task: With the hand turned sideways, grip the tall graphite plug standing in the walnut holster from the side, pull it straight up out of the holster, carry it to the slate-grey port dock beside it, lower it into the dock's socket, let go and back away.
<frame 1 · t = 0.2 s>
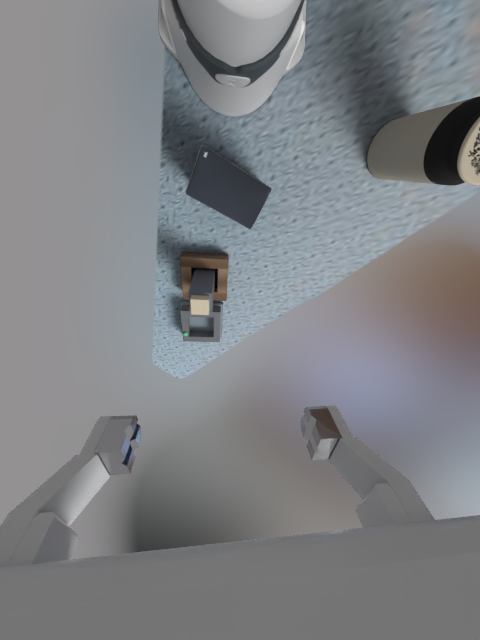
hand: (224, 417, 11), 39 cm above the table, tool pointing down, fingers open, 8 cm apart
dock: (202, 318, 54), on the table
plug: (203, 288, 42), in the holster
small box: (227, 185, 38), on the table
travel mug: (389, 150, 36), on the table
holster: (205, 274, 47), on the table
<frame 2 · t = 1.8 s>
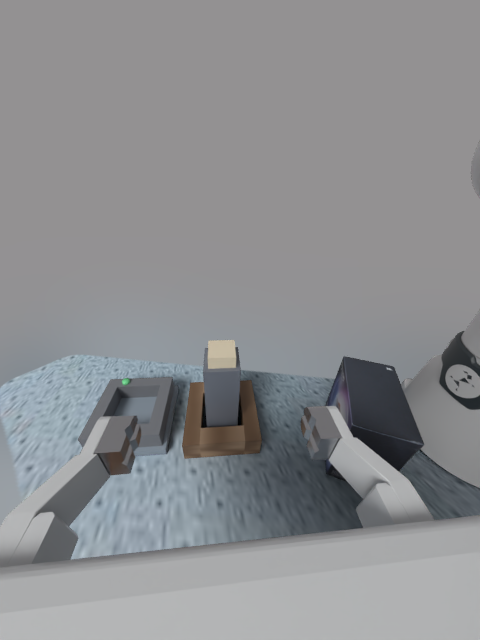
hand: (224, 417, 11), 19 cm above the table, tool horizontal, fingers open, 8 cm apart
dock: (137, 419, 31), on the table
plug: (221, 389, 27), in the holster
small box: (346, 442, 29), on the table
holster: (221, 421, 31), on the table
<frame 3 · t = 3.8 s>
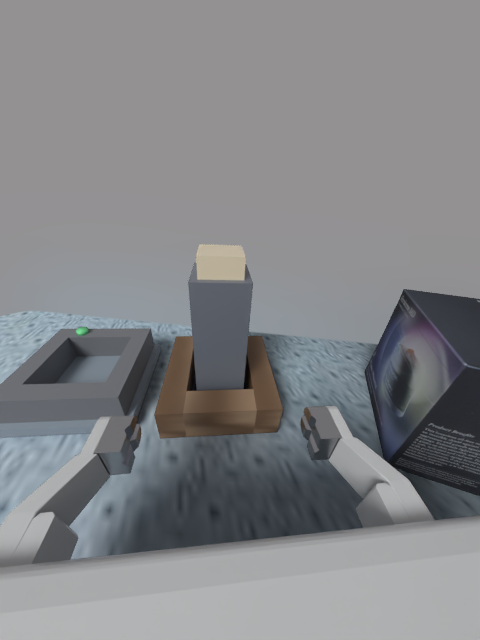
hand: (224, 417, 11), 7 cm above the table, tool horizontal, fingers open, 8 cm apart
dock: (96, 384, 21), on the table
plug: (220, 333, 18), in the holster
small box: (405, 419, 20), on the table
holster: (219, 388, 21), on the table
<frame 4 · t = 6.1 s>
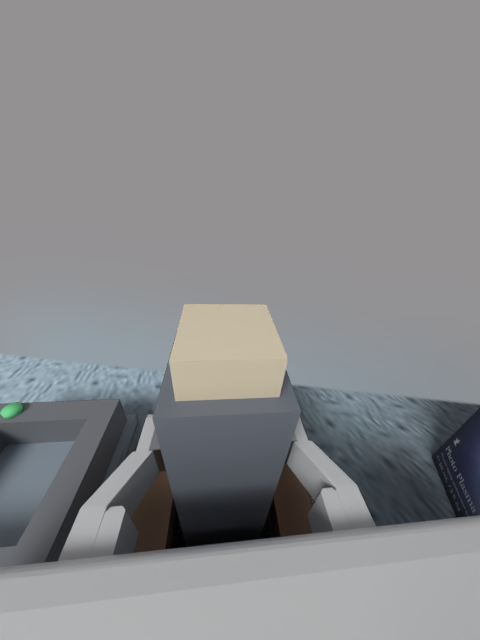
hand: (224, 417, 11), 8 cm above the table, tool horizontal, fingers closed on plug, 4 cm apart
dock: (29, 499, 13), on the table
plug: (224, 445, 10), in the holster, touching gripper
holster: (222, 502, 14), on the table
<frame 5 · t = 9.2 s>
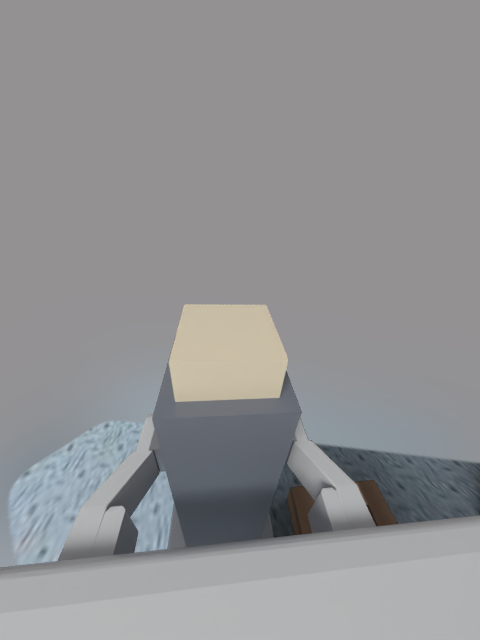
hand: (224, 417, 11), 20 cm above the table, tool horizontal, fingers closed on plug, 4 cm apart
dock: (221, 554, 20), on the table
plug: (224, 445, 10), point 19 cm above the table, touching gripper
holster: (347, 554, 21), on the table
when the fingers open (9 cm above the table, at t = 12.3 s): plug stays where it is, resting on dock.
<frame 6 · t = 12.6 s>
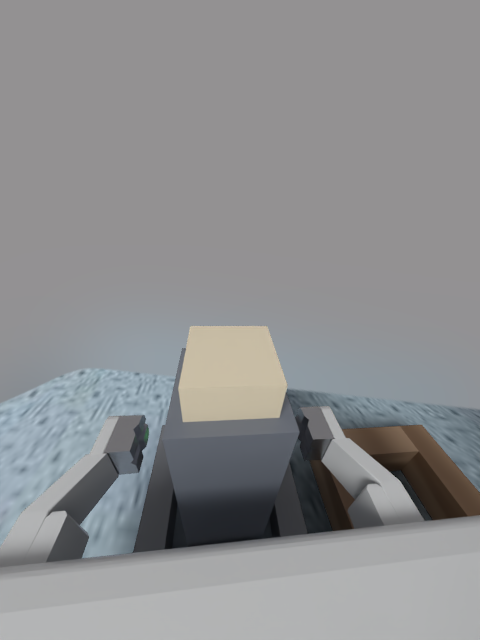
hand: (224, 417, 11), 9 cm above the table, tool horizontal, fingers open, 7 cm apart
dock: (222, 513, 15), on the table
plug: (226, 455, 11), in the dock, point 8 cm above the table
holster: (393, 516, 15), on the table
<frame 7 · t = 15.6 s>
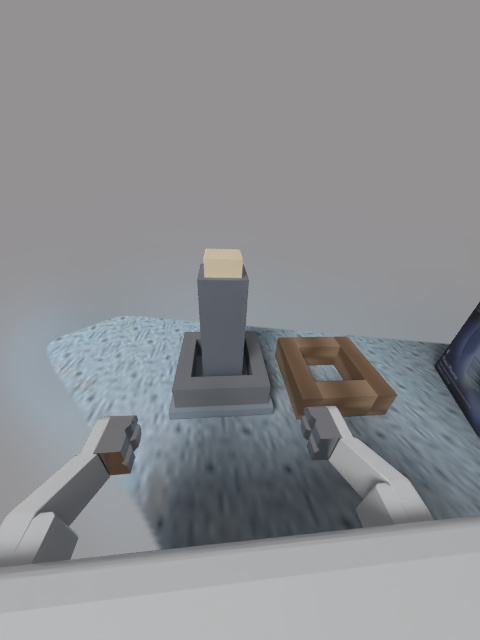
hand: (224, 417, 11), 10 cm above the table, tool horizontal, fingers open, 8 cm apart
dock: (221, 378, 25), on the table
plug: (222, 322, 21), in the dock, point 8 cm above the table
holster: (322, 380, 26), on the table
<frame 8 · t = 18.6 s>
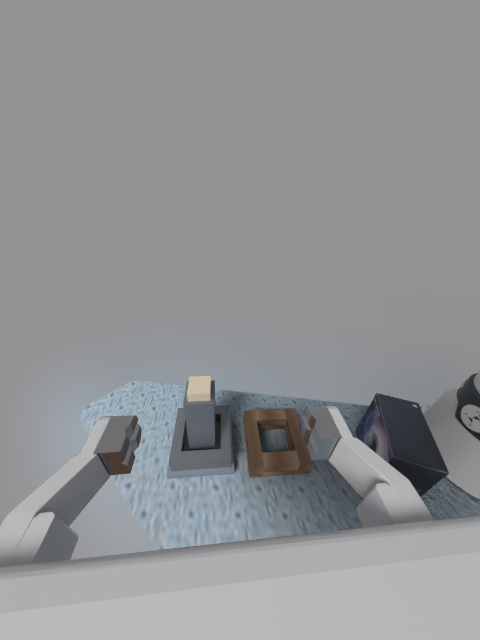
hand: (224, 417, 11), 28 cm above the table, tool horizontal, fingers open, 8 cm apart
dock: (203, 442, 37), on the table
plug: (201, 415, 33), in the dock, point 8 cm above the table
small box: (378, 463, 36), on the table
holster: (272, 444, 37), on the table
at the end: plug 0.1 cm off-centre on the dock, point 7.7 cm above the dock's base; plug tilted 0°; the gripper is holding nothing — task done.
